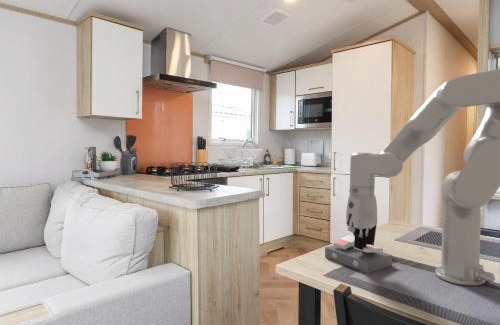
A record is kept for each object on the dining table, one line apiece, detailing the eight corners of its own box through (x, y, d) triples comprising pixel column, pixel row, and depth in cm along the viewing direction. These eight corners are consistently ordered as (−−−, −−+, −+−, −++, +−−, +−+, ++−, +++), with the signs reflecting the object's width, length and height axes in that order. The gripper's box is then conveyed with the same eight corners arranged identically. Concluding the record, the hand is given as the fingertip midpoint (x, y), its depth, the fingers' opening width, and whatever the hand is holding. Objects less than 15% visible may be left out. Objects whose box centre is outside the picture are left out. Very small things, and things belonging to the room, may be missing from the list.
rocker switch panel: (391, 265, 111) (391, 252, 111) (367, 273, 104) (367, 259, 104) (348, 251, 126) (348, 239, 126) (324, 257, 119) (324, 244, 119)
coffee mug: (372, 254, 122) (372, 226, 122) (348, 250, 127) (349, 223, 127) (381, 246, 131) (382, 220, 131) (359, 242, 137) (359, 218, 136)
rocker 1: (360, 241, 119) (359, 237, 118) (344, 249, 115) (344, 245, 114) (349, 237, 123) (348, 234, 123) (333, 245, 119) (333, 242, 118)
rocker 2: (382, 252, 111) (383, 247, 111) (366, 252, 107) (367, 248, 107) (369, 248, 115) (370, 244, 115) (354, 248, 111) (354, 244, 111)
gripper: (355, 194, 101) (353, 255, 102) (387, 191, 109) (385, 247, 110) (336, 191, 107) (334, 248, 108) (367, 188, 115) (365, 241, 117)
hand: (360, 247), depth 109 cm, fingers closed
